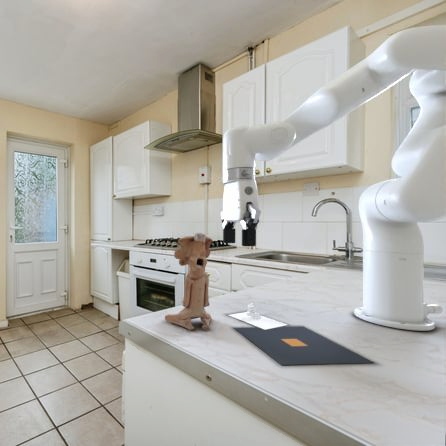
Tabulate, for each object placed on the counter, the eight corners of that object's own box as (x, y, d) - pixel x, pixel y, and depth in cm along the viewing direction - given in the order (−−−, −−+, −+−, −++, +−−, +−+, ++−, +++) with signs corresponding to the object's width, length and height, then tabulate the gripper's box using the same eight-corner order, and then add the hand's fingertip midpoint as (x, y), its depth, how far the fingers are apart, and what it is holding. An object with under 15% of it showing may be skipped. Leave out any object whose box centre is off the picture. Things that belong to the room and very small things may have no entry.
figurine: (210, 318, 63) (210, 231, 63) (220, 333, 55) (220, 233, 55) (163, 317, 64) (163, 231, 64) (167, 331, 56) (167, 233, 56)
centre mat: (303, 326, 58) (303, 326, 58) (374, 363, 43) (374, 362, 43) (233, 328, 57) (233, 327, 57) (281, 365, 42) (281, 364, 42)
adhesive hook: (252, 315, 65) (252, 302, 65) (262, 319, 63) (262, 305, 63) (243, 317, 64) (243, 303, 64) (252, 320, 62) (252, 306, 62)
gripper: (274, 171, 62) (274, 247, 62) (236, 182, 79) (235, 242, 79) (242, 171, 61) (241, 247, 61) (210, 182, 79) (210, 242, 79)
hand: (238, 244), depth 70 cm, fingers open, 9 cm apart
